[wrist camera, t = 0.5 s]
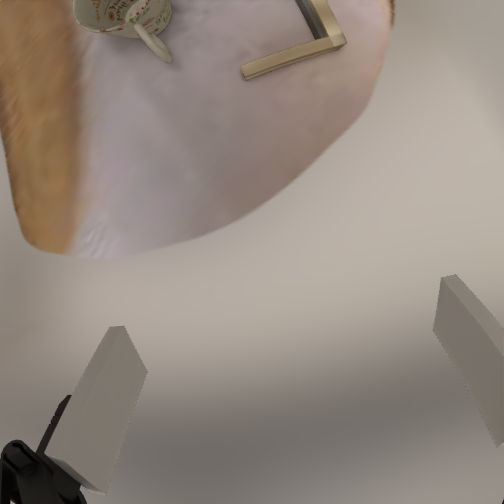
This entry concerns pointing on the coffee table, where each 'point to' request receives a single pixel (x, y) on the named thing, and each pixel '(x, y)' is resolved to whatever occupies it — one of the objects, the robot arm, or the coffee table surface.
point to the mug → (127, 20)
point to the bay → (325, 41)
